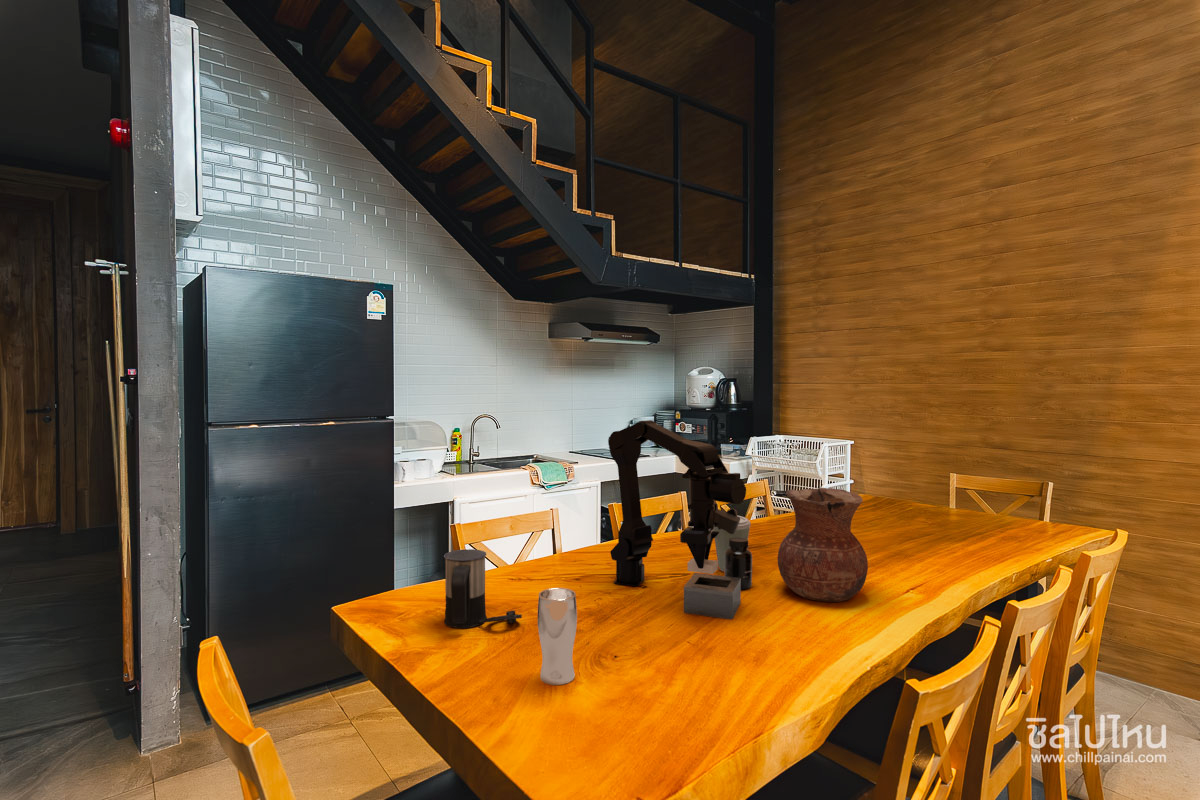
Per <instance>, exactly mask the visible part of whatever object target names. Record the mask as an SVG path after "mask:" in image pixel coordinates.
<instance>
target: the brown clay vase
mask: <svg viewBox="0 0 1200 800" xmlns="http://www.w3.org/2000/svg"><path fill="white" fill-rule="evenodd" d="M785 494H786V496H787V497H788V499H789V500H790V503H791V505H792V508H793V512H794V516H795V523H794V524H795V526H794V527H793V529H791V530H790V531H789V532H788V534H786V536H785V537H784V538H783V539H782V541H781V543H780V545H779V549H778V550H777V551H778V552H777V557H776V558H777V567H778V570H779V573H780V574H779V575H780V576H781V578H782V580H783V582H784V583H785V585H786V586H787V587H788V588H789V589H790V590H791V591H792V592H793V593H795V594H797V595H798V596H800V597H802V598H804V599H807V600H813V601H818V602H823V603H840V602H841V603H842V602H846V601H849V600H850V599H852V598H853V597H854V596H855V595H857V594H858V593H859V592H860V591H861V590H862V589H863V586H864V584H865V583H866V579H867V576H868V575H867V574H868V570H869V567H868V566H869V565H868V564H869V562H868V556H867V554H866V551H865V549H864V547H863V545H862V544H861V543H860V541H859V539H858V538H857V537H856V536H855V534H853V533H852V530H851V529H852V528H851V527H852V521H853V517H854V515H855V513H856V511H857V510H858V509H859V507H860V506H861V505H862V503H863V498H862V496H861V495H859V494H857V493H855V492H850V491H847V490H845V489H841V488H840V489H839V488H830V487H829V488H828V487H827V488H826V487H818V488H803V489H800V490H796V489H789V490H786V492H785Z"/></svg>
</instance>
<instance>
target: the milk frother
mask: <svg viewBox="0 0 1200 800" xmlns="http://www.w3.org/2000/svg"><path fill="white" fill-rule="evenodd" d="M443 557H444V560H445V578H444V579H445V599H444V600H445V610H444V620H443V622H444V624H445V625H446V626H448V627H450V628H455V629H456V628H457V629H460V628H462V629H466V628H467V629H468V628H474V627H478V626H481V625H482V624H484V623H491V622H492V623H493V622H499V621H501V622H502V621H506V622H507V624H515V623H516V622H517V619H522V618H523V617H522V616H523V614H518V613H516V611H515V610H510V611H509V610H508V611H506V612H505V613H506V614H505V615H499V616H492V617H488V616H487V611H486V609H487V608H486V557H487V552H486V551H484V550H480V549H475V548H473V549H465V548H463V549H457V550H451V551H449V552H446V553H445V554H444V555H443Z"/></svg>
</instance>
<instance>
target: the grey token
mask: <svg viewBox="0 0 1200 800" xmlns="http://www.w3.org/2000/svg"><path fill="white" fill-rule="evenodd" d="M718 570H719V566H718V560H713V559H708V560H706V559H705V561H704V567H703V568H702V569H701V568H698V566H697V564H696V562H695V560H694V557H693V558H692V559H690V560H689V561H687V571H688V572H694V573H700V574H709V575H714V573H716V571H718Z"/></svg>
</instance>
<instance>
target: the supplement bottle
mask: <svg viewBox="0 0 1200 800" xmlns="http://www.w3.org/2000/svg"><path fill="white" fill-rule="evenodd" d="M729 547H730V548H729V549H727V550H726V552H725V572H724V576H727V577H736V578H741V591H743V590H744V591H745V590H748V589H750V588H751V587H752V585H753V584H752V583H753V582H752V581H753V554H752V551H751V550H749V549H748V548H749V547H750V545H749V539H748V540H747V539H745V538H730V539H729Z"/></svg>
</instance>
